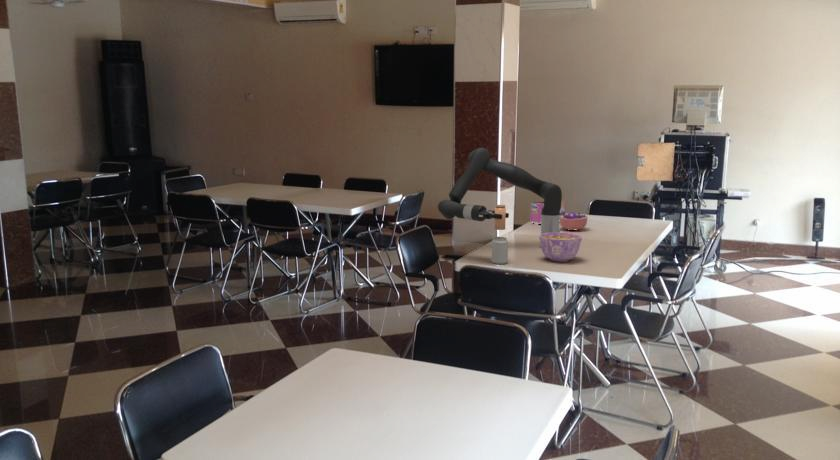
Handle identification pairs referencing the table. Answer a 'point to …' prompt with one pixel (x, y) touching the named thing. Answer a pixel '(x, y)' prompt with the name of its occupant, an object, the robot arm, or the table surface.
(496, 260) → the can
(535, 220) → the gum box
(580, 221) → the cell model
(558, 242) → the bowl of food
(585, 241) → the table surface
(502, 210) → the jar
